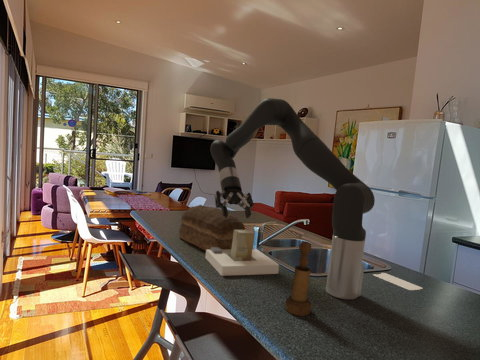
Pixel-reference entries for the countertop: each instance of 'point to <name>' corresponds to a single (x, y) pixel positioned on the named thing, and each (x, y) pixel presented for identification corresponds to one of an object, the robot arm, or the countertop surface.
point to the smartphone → (397, 281)
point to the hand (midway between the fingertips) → (237, 216)
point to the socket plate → (240, 263)
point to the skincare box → (242, 245)
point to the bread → (209, 227)
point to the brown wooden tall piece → (300, 285)
